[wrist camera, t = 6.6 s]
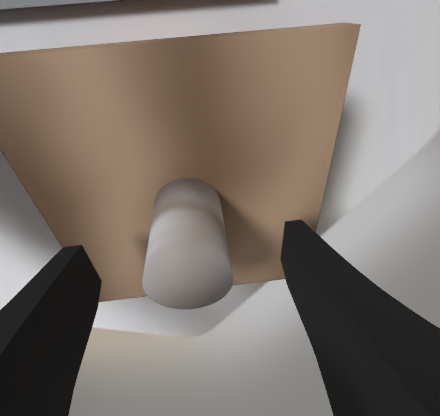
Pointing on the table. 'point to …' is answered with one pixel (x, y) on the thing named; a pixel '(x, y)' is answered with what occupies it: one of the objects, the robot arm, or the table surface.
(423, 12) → the table surface
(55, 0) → the mat
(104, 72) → the cover board
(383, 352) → the robot arm
